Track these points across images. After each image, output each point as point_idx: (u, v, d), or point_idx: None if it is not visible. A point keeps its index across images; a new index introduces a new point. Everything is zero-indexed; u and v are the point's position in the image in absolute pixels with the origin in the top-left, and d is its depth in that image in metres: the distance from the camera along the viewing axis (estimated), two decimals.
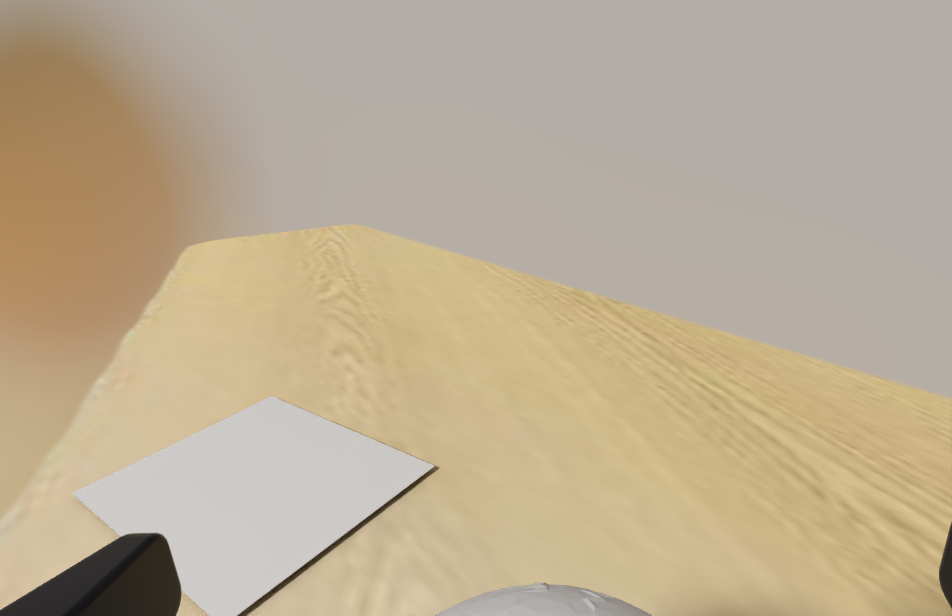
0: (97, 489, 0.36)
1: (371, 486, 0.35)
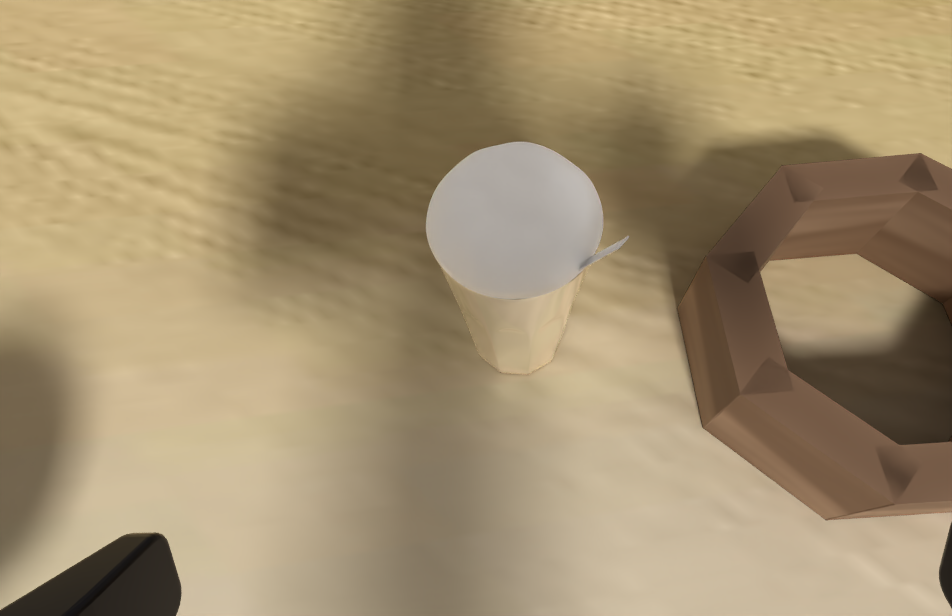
0: None
1: None
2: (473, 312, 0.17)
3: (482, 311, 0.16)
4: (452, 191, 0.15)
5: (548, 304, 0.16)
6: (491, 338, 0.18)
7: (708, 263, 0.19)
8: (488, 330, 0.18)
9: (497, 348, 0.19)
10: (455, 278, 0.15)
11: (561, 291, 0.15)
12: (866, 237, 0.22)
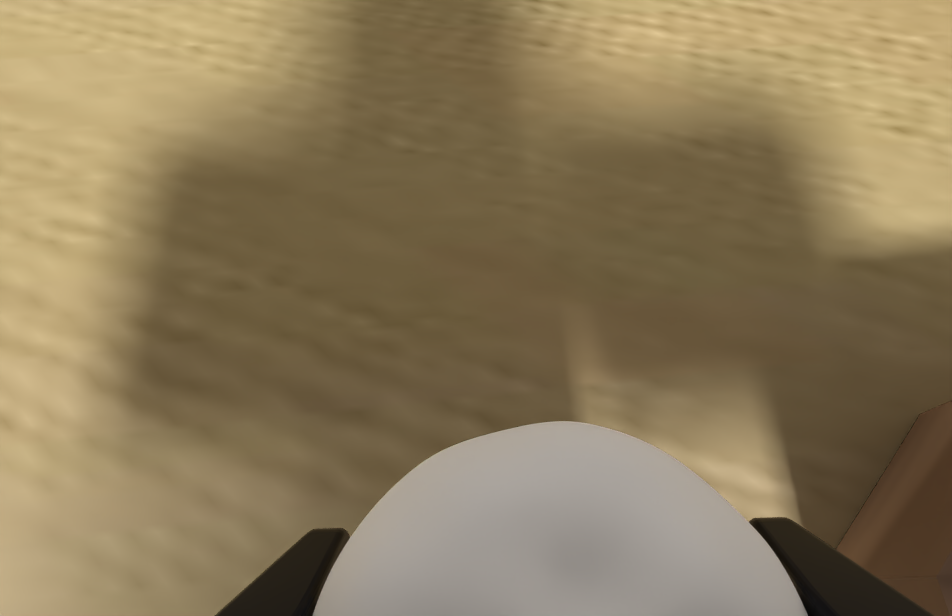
0: None
1: None
2: None
3: None
4: None
5: None
6: None
7: (943, 597, 0.09)
8: None
9: None
10: None
11: None
12: None
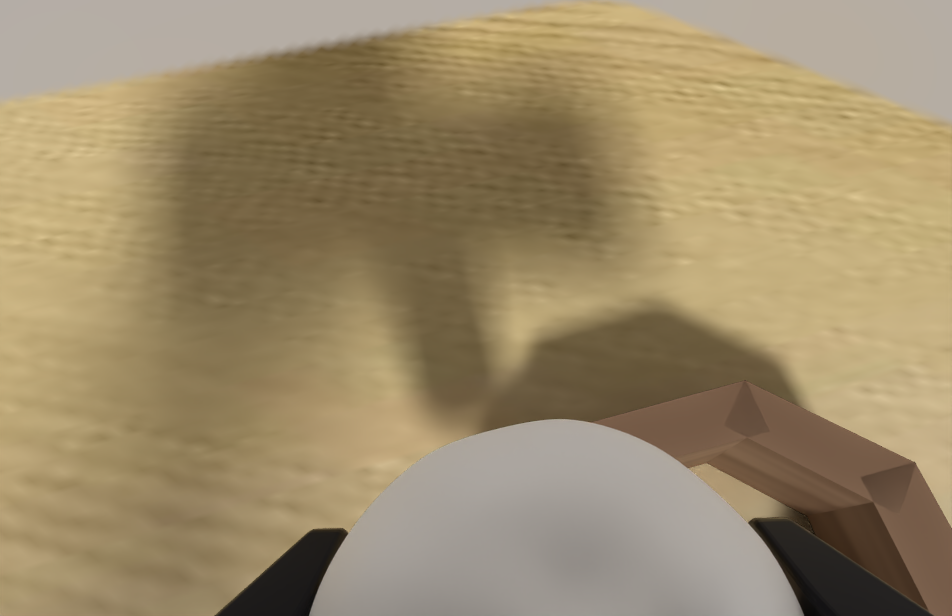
0: None
1: None
2: None
3: None
4: None
5: None
6: None
7: None
8: None
9: None
10: None
11: None
12: (709, 458, 0.19)
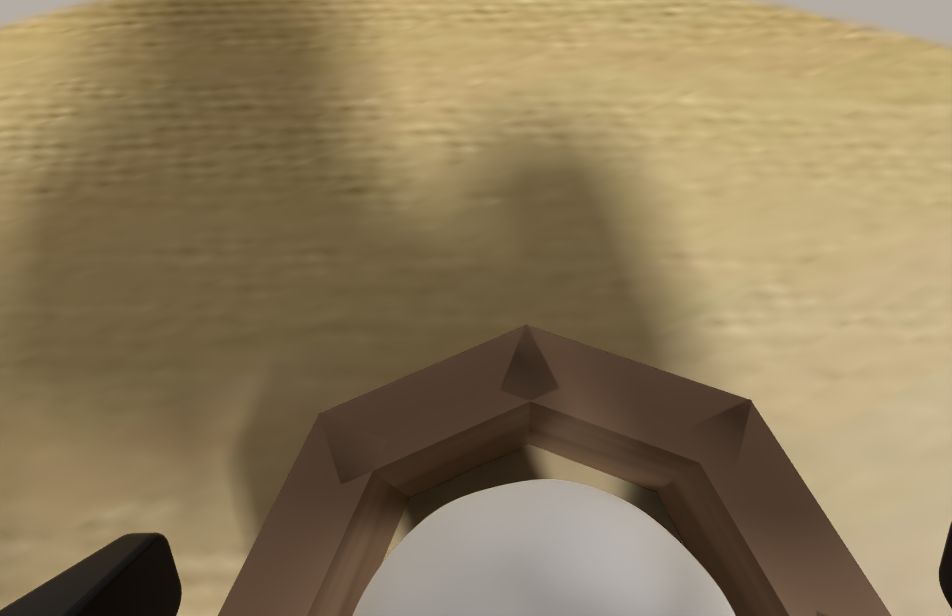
0: None
1: None
2: None
3: None
4: None
5: None
6: None
7: None
8: None
9: None
10: None
11: None
12: (520, 437, 0.14)
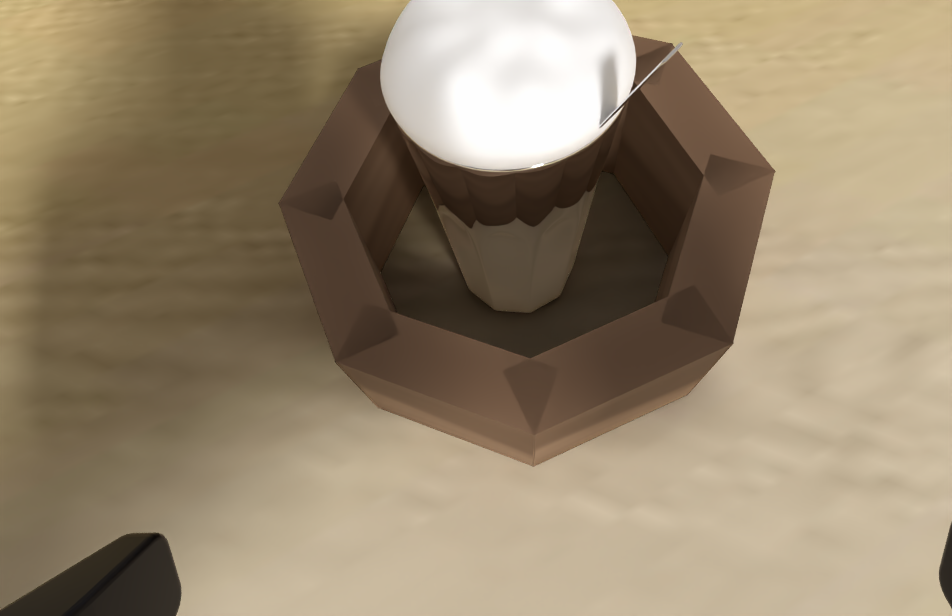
0: None
1: None
2: (451, 207, 0.12)
3: (462, 201, 0.12)
4: (416, 14, 0.10)
5: (554, 186, 0.11)
6: (478, 252, 0.14)
7: (282, 211, 0.15)
8: (473, 237, 0.13)
9: (488, 269, 0.15)
10: (419, 141, 0.10)
11: (573, 162, 0.10)
12: None
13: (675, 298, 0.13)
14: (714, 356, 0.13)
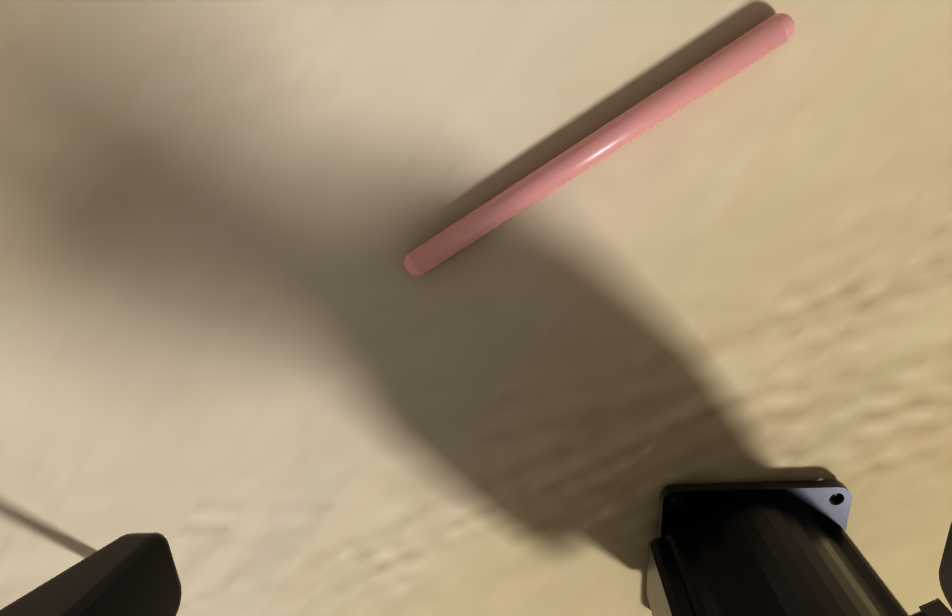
0: None
1: None
2: None
3: None
4: None
5: None
6: None
7: None
8: None
9: None
10: None
11: None
12: None
13: None
14: None
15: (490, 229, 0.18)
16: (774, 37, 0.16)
